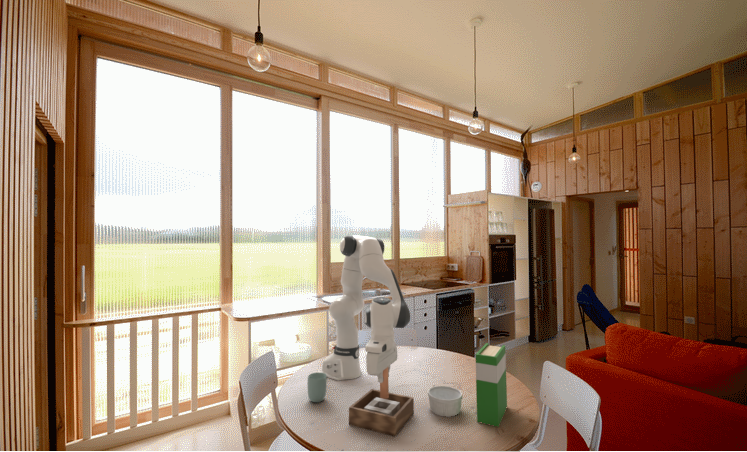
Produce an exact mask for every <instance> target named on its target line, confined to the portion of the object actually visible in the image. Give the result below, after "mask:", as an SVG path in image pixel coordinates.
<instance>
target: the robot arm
mask: <svg viewBox="0 0 747 452" xmlns="http://www.w3.org/2000/svg"><path fill="white" fill-rule="evenodd" d="M339 248H340V250H339V251H340V253H341V254H342V255H343V256H345V257H344V260H343V263H342V270H341V275H340V276H341V277H340V285H341V287H342V296H341V297H337V298H336V299H334V300H333V301H332V302H331V303H330V305H329V308H328V312H329V315H330V316H331V318H332V319H333V321H334V325H335V329H336V331H335V332H336V345H334V346H332V347H331V350H333V352H332V353H331V354H329V355H328V356H327V357H326V358H325V359H323V362H322V366H321V368H319V369H318V370H317V373H325V374H326V375H327V379H331V380H335V381H343V380H353V379H356V378H359V377H361V376H362V374H363V372H362V369H361V364H360V344H359V328H358V327H357V325H356V321H355V316H358V315H359V314H360V313H361V312H362V311H363V310H364V324H365V326H367V327H368V328H370V329H371V333H370V339H369V341H367V343H366V345H365V347H364V348H365V352H366V355H365V356H366V357H365V360H366V362H365V364H366V365H365V366H366V372H367V373H366V374H367V375H369V376H372V377H377V382H378V383H379V384H380V383H382V382H384V377H383V375H382V373H383V370H385V369H386V368H387V367H388V378H389V377H390V371H391V365H392V364H394V363H395V362H396V361H397V360H398V346H397V342H395V330H394V329H404V328H405V327H407V325H408V324H410V321H411V312H410V308H409V306H408V305H407V304H408V303H407V302H406V301H405V298H404V295H403V293H402V289H401V286H400V285H399V281H398V278H397V276H396V274H395V272H394V270H393V269H391V268H390V267H388V266H387V264H386V262H385V260H384V253H385V243H384V241H383V240H382V239H380V238H379V237H372V236H368V235H357V234H356V235H353V234H346V235H344V236H342V238H341V239H340V243H339ZM364 278H366V279H368V280H369V281H372V282H376V283H379V284H382V285H384V286H385V287H386V288H387V289H388V291H389V294H390V297H391V298H388V297H384V296H383V297H382V296H378V297H375V298H373V299H372V300H371V304H368V305H367V306H366V307H365V299H364V297H363V281H364ZM391 299H392V300H391ZM364 307H365V308H364Z"/></svg>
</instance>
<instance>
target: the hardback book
mask: <svg viewBox="0 0 747 452" xmlns="http://www.w3.org/2000/svg"><path fill="white" fill-rule="evenodd" d="M506 357H507V356H506V344H505V345H504V344H502V346H496V345H490V344H489V343H488V342H486V343H485V344H484V345H482V347H481V348H480V349H479V350H478V351H477V352H476V353H475V385H476V387H475V388H476V389H475V390H476V391H475V393H476V422H477V423H479V422H482V423H481V424H483V423H485V424H484V425H487V424H490V425H489V426H491V425H494V426H493V427H495V426H498V427H497V428H499V427H500V425H501V423H502V420H503V418H504V416H503V415H505V413H506V411H507V409H506V407H507V408H508V396H507V395H508V388H507V386H508V385H507V358H506ZM505 410H506V411H505ZM504 412H505V413H504ZM502 417H503V418H502ZM501 419H502V420H501ZM500 422H501V423H500ZM499 424H500V425H499Z"/></svg>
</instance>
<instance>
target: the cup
mask: <svg viewBox="0 0 747 452" xmlns="http://www.w3.org/2000/svg"><path fill="white" fill-rule="evenodd" d="M327 379H328V377H327V375H326V374H325V373H318V372H313V373H309V374H308V375H307V396H308V400H309V401H311V403H320V402H322V401H324V400H325V398H326V395H327V390H328V389H327V387H328V386H327V385H328V381H327Z"/></svg>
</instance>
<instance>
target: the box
mask: <svg viewBox="0 0 747 452" xmlns="http://www.w3.org/2000/svg"><path fill="white" fill-rule="evenodd" d="M414 399H415V398H414V397H413V396H409V395H403V394H398V393H393V392H389V398H387V399H382V398H380V389H375V388H371V389H369V391H367V392H366V393H365V394H363V395H362V396H361V397H360V398H359V399H357V400H355V402H354V403H352V404H351V405H350V406H349V407H348V425H349V426H353V427H356V428H360V429H363V430H367V431H372V432H375V433H379V434H383V435H386V436H390V437H394V438H395V437H397V436H398V434H399V433H400V432H401V431H402V429H403V428H404V427H405V425H406V424H407V423H408V422H409V421H410V419H411V418H412V417H413V416H414V413H415V412H414V409H415V407H414V404H415V403H414V401H415V400H414Z"/></svg>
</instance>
